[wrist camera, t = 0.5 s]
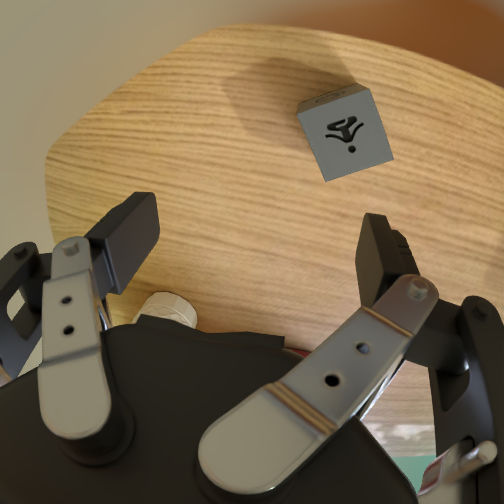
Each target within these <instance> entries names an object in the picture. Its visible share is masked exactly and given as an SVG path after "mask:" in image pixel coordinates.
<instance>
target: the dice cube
mask: <svg viewBox="0 0 504 504" xmlns="http://www.w3.org/2000/svg"><path fill="white" fill-rule="evenodd" d="M296 115H297V117H298V119H299V122H300V124H301V126H302V128H303V131H304V133H305V135H306V137H307V140H308V142H309V144H310V146H311V149H312V151H313V153H314V156H315V158H316V161H317V163H318V165H319V168H320V170H321V173H322V175H323V178H324V180H325V182H327V181H330V180H333V179H336V178H339V177H342V176H345V175H348V174H351V173H354V172H357V171H360V170H363V169H366V168H370V167H373V166H376V165H379V164H382V163H385V162H388V161H391V160H394V158H393V155H392V152H391V149H390V145H389V142H388V139H387V136H386V133H385V130H384V127H383V124H382V121H381V119H380V116H379V113H378V110H377V107H376V105H375V102H374V99H373V97H372V94H371V92H370V89H368V88H366V87H364V86H362V85H360V84H358V83H357V84H354V85H351V86H348V87H345V88H342V89H339V90H336V91H333V92H330V93H327V94H324V95H322V96H319V97H316V98H313V99H311V100H308V101H305V102H303V103H300V104H298V109H297V113H296Z"/></svg>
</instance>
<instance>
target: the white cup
mask: <svg viewBox="0 0 504 504" xmlns="http://www.w3.org/2000/svg"><path fill="white" fill-rule="evenodd" d="M140 314H146V315H151V316H156V317H161V318H167V319H172V320H175V321H177V322H180V323H182V324H184V325H187V326H189V327H192V328H194V329H195V327H196V324H197V321H198V320H197V315H196V311H195V310H194V308H193V307H192V306H191V304H190V303H189V302H187V301H186V300H185V299H183V298H182V297H180V296H178V295H175V294H172V293H169V292H156V293H154V294H153V295H151V296H150V297H148V299H147V300H146V302H145V303H144V305H143V307H142V308H141V310H140V311H139V312H138V313H137V314H136V316H135V317H134V319H133V321H132V322H131V323H130V324H134V323H136V321H137V320H138V318H139V316H140Z"/></svg>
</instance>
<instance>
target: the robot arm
mask: <svg viewBox="0 0 504 504" xmlns="http://www.w3.org/2000/svg"><path fill="white" fill-rule="evenodd" d="M159 234H160V225H159V218H158V211H157V203H156V197H155V194H154V193H152V192H134V193H133V194H132V195H131V196H130V197H128V198H127V199H126V200H125V201H124V202H123V203H121V204H120V205H118V206H116V207H114V208H112V209H111V210H110V211H109V212H108V213H107V214H106V215H105V216H104V217H103V218H102V219H101V220H100V222H98V223H97V224H96V225H95V226H94V227H93V228H92V229H91V230H90V231H89V232H88V233H87V234H86V235H85V236H84V237H81V236H76V237H70V238H67V239H65V240H63V241H61V242H60V243H58V244H57V245H56V246H55V247H54V249H53V252H52V253H45V254H39V252H38V249H37V246H36V244H35V243H33V242H24V243H21V244H18V245H17V246H15V247H13V248H12V249H11V250H10V251H9V252H8V253H7V254H6V255H5V256H4V257H3V258H2V259H1V260H0V504H504V325H503V323H502V320H501V318H500V315H499V313H498V311H497V309H496V308H495V307H494V306H493V305H492V304H491V303H490V302H489V301H488V300H486V299H484V298H482V297H479V296H468V297H466V298H465V299H464V301H463V303H462V305H461V306H458V305H455V304H452V303H449V302H446V301H444V300H441V299H439V293H438V290H437V288H436V287H435V285H434V284H433V283H431V282H430V281H429V280H427V279H426V278H424V277H421V276H420V273H419V270H418V268H417V265H416V263H415V260H414V257H413V256H412V253H411V250H410V249H409V245H408V243H407V240H406V238H405V237H404V236H403V235H402V234H401V233H400V232H399V231H398V230H392V229H391V228H390V225H389V223H388V220H387V218H386V216H385V215H379V214H371V213H366V214H365V215H364V219H363V223H362V228H361V232H360V237H359V241H358V245H357V250H356V258H355V265H356V272H357V279H358V286H359V293H360V301H361V307H360V308H359V309H358V310H357V311H356V312H355V313H354V314H353V315H352V316H351V317H350V318H349V319H347V320H346V321H345V322H344V323H343V324H342V325H341V326H340V327H339V328H338V329H337V330H336V331H335V332H334V333H333V334H332V335H330V336H329V337H328V338H327V339H326V340H325V341H324V342H323V343H322V344H321V345H319V346H318V347H317V348H316V349H315V350H314V351H313V352H312V353H310V354H309V355H308V356H307V357H306V358H305V357H303V356H301V355H300V354H298V353H296V352H294V351H291V350H289V349H286V348H283V347H284V340H285V336H277V335H269V334H261V333H254V332H229V333H204V332H201V331H199V330H197V329H194V328H192V327H189V326H187V325H184V324H182V323H180V322H177V321H175V320H172V319H167V318H161V317H156V316H151V315H146V314H140V316H139V318H138V320H137V321H136V323H134V324H124V325H119V326H115V327H113V323H112V319H111V315H110V310H109V305H108V302H107V299H106V295H107V294H108V293H113V294H118V295H121V294H122V292H123V291H124V289H125V288H126V286H127V285H128V283H129V282H130V280H131V279H132V277H133V276H134V274H135V273H136V272H137V270H138V269H139V267H140V266H141V264H142V263H143V261H144V260H145V259H146V257H147V256H148V254H149V253H150V251H151V250H152V249H153V247H154V246H155V244H156V243H157V241H158V239H159ZM18 289H19V291H20V293H21V295H22V297H23V299H24V301H25V303H24V305H23V306H22V307H21V309H20V310H19V311H18V313H17V314H16V316H15V317H14V319H13V320H12V321H11V320H10V318H9V316H8V314H7V304H8V301H9V300H10V299H11V297H12V296H13V295H14V294H15V292H16V291H17V290H18ZM41 336H42V363H41V364H39V366H38V367H36V368H34V369H33V370H30V371H29V372H27V373H25V374H23V375H21V376H19V377H18V375H19V373H20V371H21V370H22V368H23V366H24V364H25V363H26V361H27V359H28V358H29V356H30V354H31V353H32V351H33V349H34V348H35V346H36V345H37V343H38V341H39V340H40V338H41ZM406 360H407V361H410V362H413V363H416V364H419V365H422V366H425V367H428V372H429V380H430V387H431V395H432V404H433V414H434V426H435V440H436V459H435V460H433V461H432V462H431V463H430V464H429V465H428V466H427V468H426V470H425V472H424V475H423V480H422V485H421V488H420V490H419V492H418V494H416V491H415V489H414V487H413V485H412V484H411V482H410V481H409V479H408V478H407V477H406V476H405V474H404V473H403V472H402V471H401V470H400V468H399V467H398V466H397V465H396V463H395V462H394V461H393V460H392V459H391V457H390V456H389V455H388V454H387V453H386V451H385V450H384V449H383V448H382V446H381V445H380V444H379V443H378V442H377V440H376V439H375V438H374V437H373V435H372V434H371V433H370V432H369V430H368V429H367V428H366V427H365V426H364V424H363V423H362V422H361V420H362V419H363V418H364V416H365V415H366V414H367V413H368V411H369V410H370V409H371V407H372V406H373V404H374V403H375V402H376V400H377V399H378V398H379V396H380V395H381V394H382V393H383V391H384V390H385V389H386V387H387V386H388V385H389V383H390V382H391V381H392V379H393V378H394V377H395V375H396V374H397V372H398V371H399V370H400V368H401V367H402V365H403V364H404V363H405V361H406ZM17 377H18V378H17Z"/></svg>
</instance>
